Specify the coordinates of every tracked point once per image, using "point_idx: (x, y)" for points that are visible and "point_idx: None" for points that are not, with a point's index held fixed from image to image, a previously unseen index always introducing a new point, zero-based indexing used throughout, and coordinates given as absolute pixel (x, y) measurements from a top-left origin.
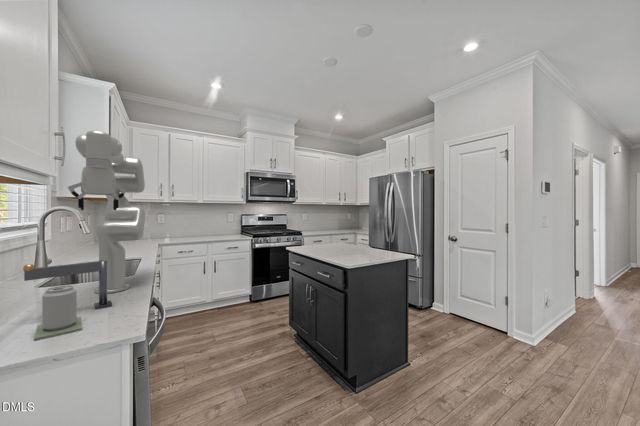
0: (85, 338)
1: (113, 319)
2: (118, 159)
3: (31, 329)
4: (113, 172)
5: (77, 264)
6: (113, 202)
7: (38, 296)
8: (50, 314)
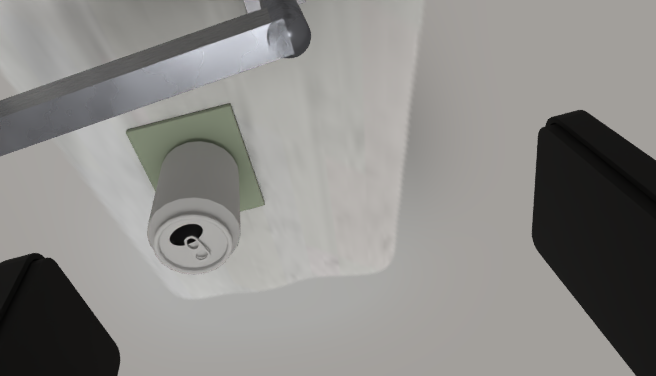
0: (286, 250)
1: (327, 155)
2: None
3: (119, 141)
4: None
5: (171, 96)
6: (647, 255)
7: None
8: (189, 229)
